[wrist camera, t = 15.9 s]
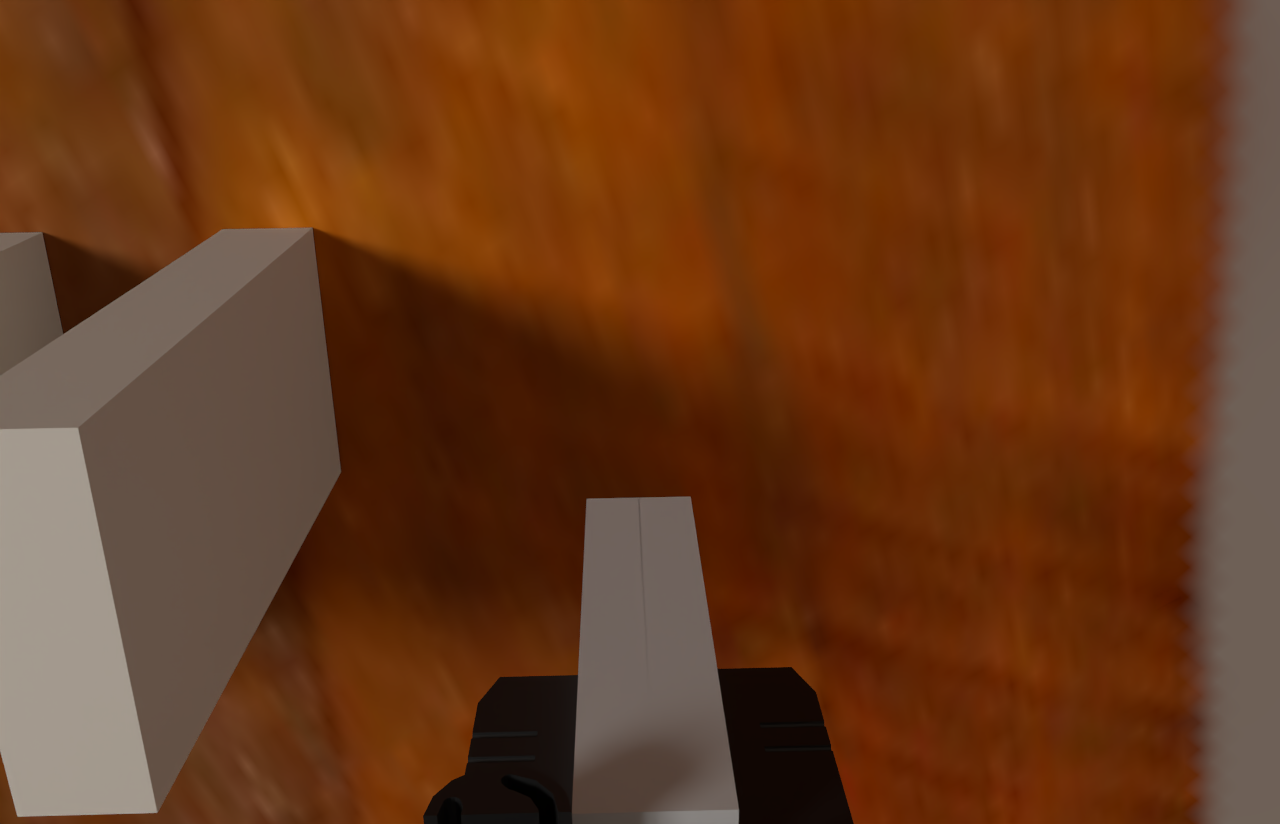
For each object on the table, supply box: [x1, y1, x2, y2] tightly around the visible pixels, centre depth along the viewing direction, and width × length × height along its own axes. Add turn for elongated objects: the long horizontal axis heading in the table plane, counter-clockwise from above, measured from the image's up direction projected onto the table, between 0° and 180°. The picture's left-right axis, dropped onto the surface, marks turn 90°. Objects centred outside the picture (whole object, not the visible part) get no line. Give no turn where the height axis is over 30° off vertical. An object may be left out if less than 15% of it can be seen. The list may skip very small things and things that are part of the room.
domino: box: [0, 228, 341, 817], centre depth 21 cm, size 2×6×12 cm, turn 1°
